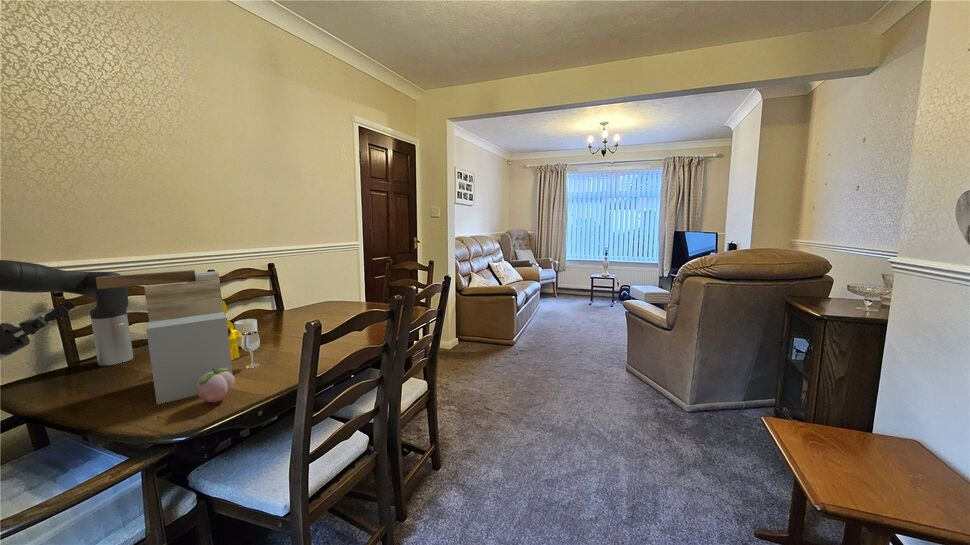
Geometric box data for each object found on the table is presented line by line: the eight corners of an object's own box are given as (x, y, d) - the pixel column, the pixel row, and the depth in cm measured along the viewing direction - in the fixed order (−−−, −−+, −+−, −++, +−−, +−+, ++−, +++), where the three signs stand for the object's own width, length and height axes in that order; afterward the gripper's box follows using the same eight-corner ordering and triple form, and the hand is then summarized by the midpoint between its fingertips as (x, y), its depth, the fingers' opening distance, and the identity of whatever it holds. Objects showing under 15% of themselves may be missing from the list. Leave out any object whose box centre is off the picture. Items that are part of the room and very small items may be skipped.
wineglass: (239, 367, 129) (235, 334, 127) (254, 362, 134) (251, 330, 132) (250, 370, 126) (247, 336, 125) (265, 364, 132) (262, 331, 130)
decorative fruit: (214, 394, 109) (211, 362, 108) (241, 394, 109) (238, 362, 107) (188, 410, 100) (184, 375, 98) (218, 410, 100) (214, 375, 98)
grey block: (158, 393, 110) (148, 322, 107) (230, 376, 121) (223, 312, 118) (156, 404, 103) (146, 328, 100) (233, 386, 114) (226, 317, 111)
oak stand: (159, 379, 120) (146, 282, 115) (226, 365, 131) (217, 276, 127) (158, 389, 112) (144, 286, 108) (229, 373, 124) (219, 280, 119)
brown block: (100, 286, 108) (98, 275, 108) (217, 277, 126) (216, 267, 125) (95, 290, 102) (94, 279, 102) (219, 279, 120) (218, 270, 119)
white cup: (248, 348, 148) (245, 324, 147) (231, 347, 150) (229, 323, 148) (263, 342, 156) (261, 319, 154) (247, 341, 157) (245, 318, 156)
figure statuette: (205, 369, 128) (198, 307, 124) (195, 364, 132) (187, 305, 128) (258, 353, 143) (253, 298, 140) (247, 349, 147) (242, 295, 144)
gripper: (-33, 341, 87) (50, 299, 95) (-10, 328, 98) (64, 291, 106) (-3, 363, 90) (76, 321, 98) (17, 348, 101) (86, 311, 109)
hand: (69, 306), depth 102 cm, fingers open, 8 cm apart
